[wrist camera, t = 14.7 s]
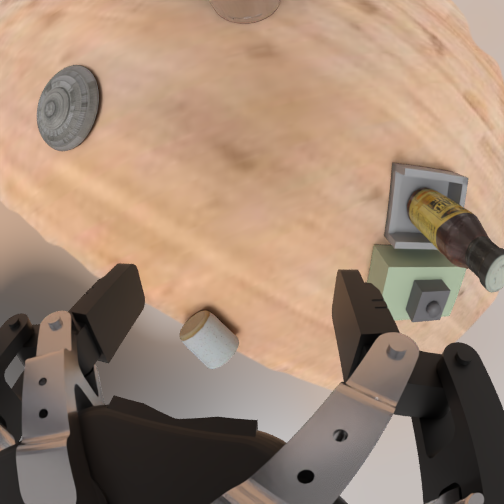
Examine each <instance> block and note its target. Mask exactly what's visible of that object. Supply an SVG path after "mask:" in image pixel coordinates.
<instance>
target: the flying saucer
mask: <svg viewBox="0 0 504 504" xmlns="http://www.w3.org/2000/svg"><path fill="white" fill-rule="evenodd" d="M98 103H99V92H98V86H97V82H96V80H95V77H94V76H93V74H92V73H91V72H90V71H89V70H88V69H87V68H85V67H83V66H80V65H73V66H69V67H66V68H64V69H62V70H61V71H59V72H58V73H57V74H56V75H55V76H54V77H53V78H52V79H51V80H50V81H49V82H48V84H47V85H46V87H45V88H44V90H43V92H42V94H41V97H40V99H39V103H38V108H37V124H38V128H39V132H40V134H41V136H42V138H43V139H44V141H45V142H46V143H47V144H48V145H49V146H50V147H52V148H53V149H55V150H58V151H68V150H71V149H73V148H75V147H76V146H78V145H79V144H80V143H81V142H82V141H83V140H84V139H85V138H86V136H87V135H88V133H89V132H90V130H91V128H92V126H93V123H94V121H95V118H96V114H97V110H98Z"/></svg>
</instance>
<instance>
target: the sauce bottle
mask: <svg viewBox="0 0 504 504" xmlns="http://www.w3.org/2000/svg"><path fill="white" fill-rule="evenodd" d="M407 212H408V216H409V218H410V221H411V222H412V223H413V225H414V226H415V227H416V228H417V229H418V230H419V231H420V232H421V233H422V234H423V235H424V236H425V237H426V238H427V239H428V240H429V241H430V242H431V243H432V244H433V245H434V246H435V247H436V248H437V249H438V250H439V251H440V253H441V254H443V255H444V256H446V258H447V259H448V260H449V261H450V262H451V263H452V264H454V265H456V266H457V267H461V268H466V269H468V268H469V269H470V270H471V271H472V272H474V273H475V274H476V275H477V276H478V277H479V279H480V282H481V284H482V285H483V286H484V287H485V288H486V289H487V290H488V291H489V292H497V291H499V290H500V289H502V288H503V287H504V249H502V248H499V247H498V246H497V245H495V244H494V243H493V242H492V241H491V240H490V239H489V237H488V236H487V234H486V232H485V230H484V228H483V227H482V225H481V223H480V221H479V220H478V218H477V217H476V216H475V215H474V214H473V213H472V212H470V211H468V210H467V209H465V208H464V207H462V206H461V205H459V204H458V203H456V202H454V201H453V200H451V199H449V198H447V197H446V196H444V195H442V194H441V193H439V192H437V191H435V190H433V189H429V188H422V189H419V190H417V191H415V192H414V193H413V194H412V195H411V198H410V199H409V202H408V205H407Z"/></svg>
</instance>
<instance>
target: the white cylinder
mask: <svg viewBox="0 0 504 504" xmlns="http://www.w3.org/2000/svg"><path fill="white" fill-rule="evenodd" d="M180 339H181V341H182V342H183V343H184V345H185V346H186V347H187V348H188V349H189V350H190V351H191V352H192V353H193V354H194V355H195V356H196V357H197V358H198V359H199V360H200V361H201V362H202V363H203V364H205V366H207V367H208V368H210V369H216V368H219V367H220V366H222V365H224V364H225V363H227V362H228V361H229V360H230V359H231V358H232V356H233V355H234V354H235V352H236V350H237V348H238V345H239V340H238V338H237V336H235V335H234V334H233V333H232V332H231V331H230V330H229V329H228V328H227V327H226V326H225V325H224V324H223V323H221V322H220V321H219V319H218V318H217V317H215V316H214V315H213V314H212V313H210V312H209V311H200V312H198V313H197V314H195V315H194V316H192V317H191V318H190V319H189V320H188V321H187V322H186V323H185V325H184V326H183V327H182V329H181V331H180Z"/></svg>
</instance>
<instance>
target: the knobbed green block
mask: <svg viewBox="0 0 504 504" xmlns="http://www.w3.org/2000/svg"><path fill="white" fill-rule="evenodd" d="M467 184H468V178H467V177H464V176H462V175H460V174H457V173H454V172H451V171H446V170H440V169H434V168H428V167H421V166H414V165H407V164H399V163H392V173H391V185H390V195H389V204H388V212H387V220H386V227H385V234H384V236H385V237H386V239H387V240H388V241H389V242H390V244H391V245H374V247H373V253H372V259H371V264H370V270H369V275H368V280H367V283H372V284H373V285H374V286H375V287H376V288H378V289H379V290H380V292H381V294H382V296H383V298H384V301H385V302H386V304H387V306H388V308H389V310H390V312H391V315H392V317H393V319H394V320H409V319H411V321H412V322H421V321H432V320H440V318H441V317H443V316H450V313H451V311H452V308H453V306H454V303H455V300H456V298H457V295H458V292H459V290H460V287H461V284H462V281H463V278H464V275H465V272H466V268H461V267H457V266H456V265H454V264H452V263H451V262H450V261H449V260H448V259H447V258H446V256H444V255H443V254H441V253H440V251H439V250H438V249H437V248H436V247H435V246H434V245H433V244H432V243H431V242H430V241H429V240H428V239H427V238H426V237H425V236H424V235H423V234H422V233H421V232H420V231H419V230H418V229H417V228H416V227H415V226H414V225H413V223H412V222H411V221H410V218H409V216H408V212H407V205H408V202H409V199H410V198H411V195H412V194H413V193H414V192H415V191H417V190H419V189H422V188H429V189H433V190H435V191H437V192H439V193H441V194H442V195H444V196H446V197H447V198H449V199H451V200H453V201H454V202H456V203H458V204H459V205H461V206H462V207H464V204H465V198H466V192H467Z"/></svg>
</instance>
